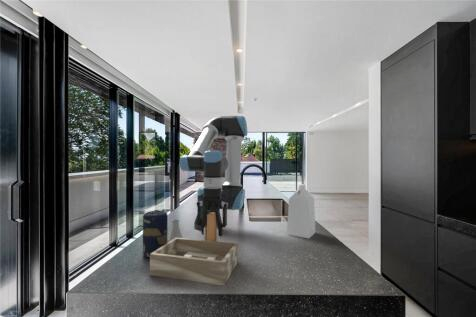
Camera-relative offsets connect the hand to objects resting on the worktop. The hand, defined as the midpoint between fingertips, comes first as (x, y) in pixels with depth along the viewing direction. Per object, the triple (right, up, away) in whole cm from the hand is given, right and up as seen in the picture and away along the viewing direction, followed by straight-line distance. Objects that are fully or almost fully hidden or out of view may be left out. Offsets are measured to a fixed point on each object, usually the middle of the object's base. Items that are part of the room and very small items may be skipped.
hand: (211, 242), depth 104 cm
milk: (+45, -5, +27) cm, 52 cm away
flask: (-19, -4, +13) cm, 23 cm away
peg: (0, -4, 0) cm, 4 cm away
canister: (-23, -4, -4) cm, 23 cm away
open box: (-4, -4, -16) cm, 16 cm away
